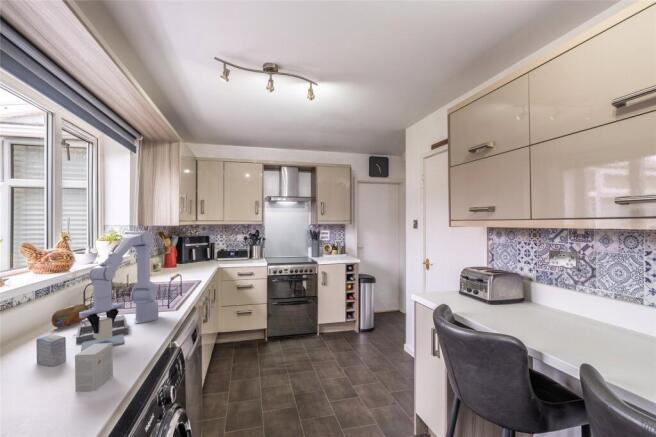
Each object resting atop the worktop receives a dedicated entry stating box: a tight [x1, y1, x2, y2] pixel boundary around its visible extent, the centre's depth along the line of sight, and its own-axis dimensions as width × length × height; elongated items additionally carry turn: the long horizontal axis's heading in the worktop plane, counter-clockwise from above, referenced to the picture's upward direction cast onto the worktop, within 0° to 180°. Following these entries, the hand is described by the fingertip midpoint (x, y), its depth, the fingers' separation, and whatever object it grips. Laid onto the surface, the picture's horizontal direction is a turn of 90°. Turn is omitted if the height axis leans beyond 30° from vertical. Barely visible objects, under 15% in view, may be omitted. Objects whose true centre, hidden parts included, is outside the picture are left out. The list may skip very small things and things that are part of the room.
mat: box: [80, 334, 125, 352], centre depth 115 cm, size 13×11×1 cm
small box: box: [74, 343, 114, 393], centre depth 87 cm, size 8×6×10 cm
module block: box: [92, 315, 113, 340], centre depth 115 cm, size 4×6×7 cm, turn 61°
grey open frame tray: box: [75, 314, 129, 345], centre depth 131 cm, size 17×27×3 cm, turn 38°
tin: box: [51, 303, 90, 329], centre depth 137 cm, size 15×3×8 cm, turn 168°
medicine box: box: [35, 334, 67, 368], centre depth 100 cm, size 8×4×9 cm, turn 71°
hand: (102, 330), depth 115 cm, fingers closed on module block, 4 cm apart
